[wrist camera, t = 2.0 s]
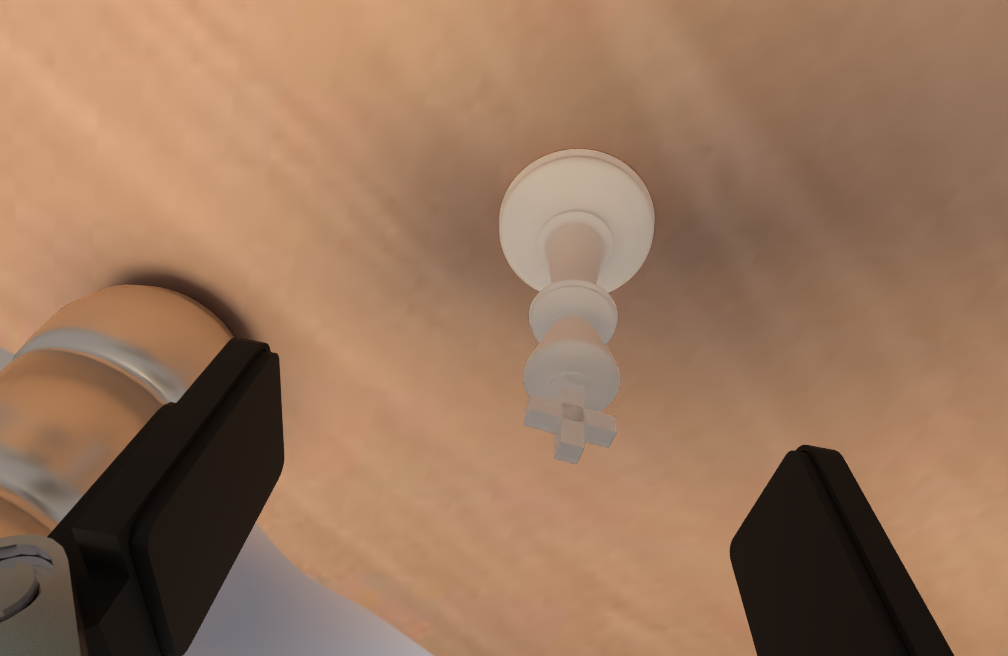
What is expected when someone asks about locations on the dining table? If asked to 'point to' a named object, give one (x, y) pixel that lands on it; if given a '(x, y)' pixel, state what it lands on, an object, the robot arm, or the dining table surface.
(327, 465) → the dining table surface
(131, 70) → the dining table surface
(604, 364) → the chess piece
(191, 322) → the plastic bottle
